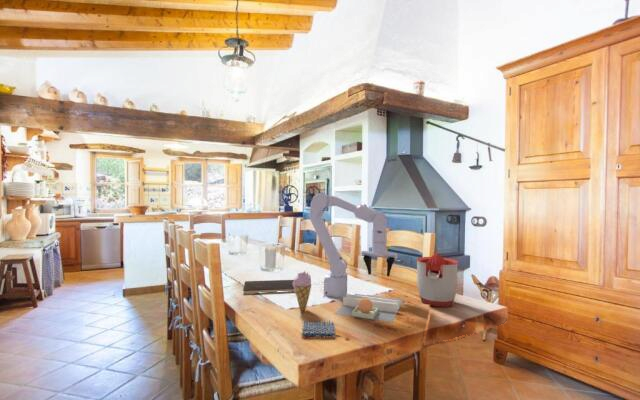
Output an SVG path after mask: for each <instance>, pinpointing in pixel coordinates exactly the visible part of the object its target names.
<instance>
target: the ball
mask: <svg viewBox="0 0 640 400" xmlns="http://www.w3.org/2000/svg"><path fill="white" fill-rule="evenodd" d="M358 308H359V310H360V311H361V312H362V313H369V312H370V311H371V310H372V308H373V305H372V302H371V301H370V300H369V299H367V298H363V299H361V300H360V301H359V303H358Z"/></svg>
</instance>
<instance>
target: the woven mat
mask: <svg viewBox="0 0 640 400" xmlns="http://www.w3.org/2000/svg"><path fill="white" fill-rule="evenodd" d="M301 330H302V332H301V333H300V334H301V335H302V334H303V335H302V336H300V338H302V337H305V338H304V339H336V338H337V336H336V328H335V322H333V321H331V320H328V321H325V320H324V321H321V320H319V321H316V320H314V321H310V320H309V321H306V320H304V321H303V322H302V328H301ZM324 336H325V337H324Z"/></svg>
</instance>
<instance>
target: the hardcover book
mask: <svg viewBox="0 0 640 400" xmlns="http://www.w3.org/2000/svg"><path fill="white" fill-rule="evenodd" d="M293 281H294V279H278V280H277V279H276V280H274V279H273V280H249V281H248V280H245V281H244V284H243V289H242V291H243V295H256V294H255V293H259V292H277V291H295V290H294V287H293V284H292V283H293Z"/></svg>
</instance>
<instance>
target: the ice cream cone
mask: <svg viewBox="0 0 640 400" xmlns="http://www.w3.org/2000/svg"><path fill="white" fill-rule="evenodd" d="M311 278H312V276H311V274H309V272H308V271H307V272H306V271H305V270H304V271H303V272H299V273H297V276H295V277H294V278H293V280H294V281H293V283H292V284H293V287H294V290H295V292H294V293H295V296H296V299H297V303H298V308H299V311H300V313H301V314H304V313H305V312H306V310H307V305H308V303H309V302H308V301H309V298H310V293H311V289H312V284H311V283H312V280H311Z"/></svg>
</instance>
